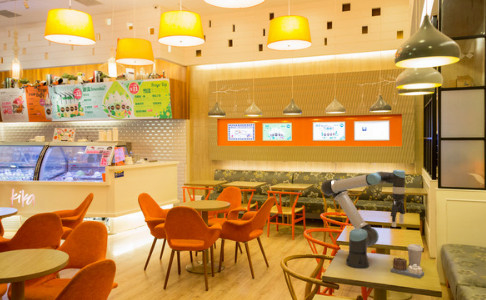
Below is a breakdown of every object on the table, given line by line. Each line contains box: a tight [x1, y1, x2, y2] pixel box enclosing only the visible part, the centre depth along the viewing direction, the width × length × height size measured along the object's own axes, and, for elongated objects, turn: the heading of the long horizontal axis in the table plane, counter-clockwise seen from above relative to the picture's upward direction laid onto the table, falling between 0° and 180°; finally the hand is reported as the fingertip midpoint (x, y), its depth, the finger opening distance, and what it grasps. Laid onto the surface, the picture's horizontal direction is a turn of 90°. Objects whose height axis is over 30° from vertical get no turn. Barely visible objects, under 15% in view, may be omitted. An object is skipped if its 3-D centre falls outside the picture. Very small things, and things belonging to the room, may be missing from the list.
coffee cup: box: [407, 243, 423, 268], centre depth 263 cm, size 10×10×15 cm
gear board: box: [390, 264, 425, 279], centre depth 252 cm, size 18×9×7 cm, turn 49°
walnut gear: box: [392, 257, 408, 271], centre depth 255 cm, size 8×8×6 cm
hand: (397, 225), depth 262 cm, fingers open, 13 cm apart
